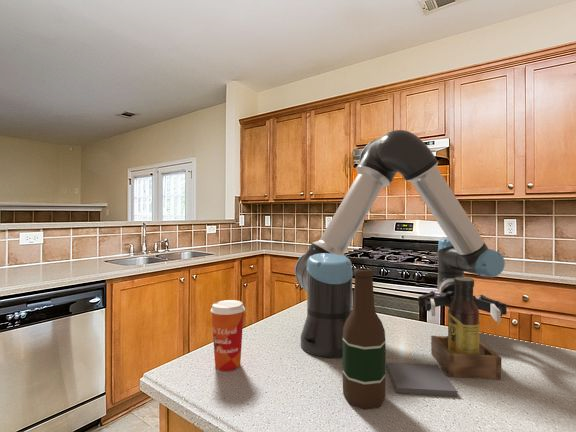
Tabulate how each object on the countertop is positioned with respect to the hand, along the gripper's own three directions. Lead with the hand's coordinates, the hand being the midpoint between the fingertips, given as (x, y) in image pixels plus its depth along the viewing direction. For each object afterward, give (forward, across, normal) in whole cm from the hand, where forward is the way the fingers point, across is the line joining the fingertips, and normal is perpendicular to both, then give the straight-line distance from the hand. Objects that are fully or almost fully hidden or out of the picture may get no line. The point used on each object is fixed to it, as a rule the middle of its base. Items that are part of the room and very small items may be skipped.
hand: (465, 313), depth 77 cm
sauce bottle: (+3, +1, -11) cm, 12 cm away
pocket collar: (+3, +1, -11) cm, 11 cm away
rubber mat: (+14, +10, -11) cm, 21 cm away
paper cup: (+22, +51, -11) cm, 56 cm away
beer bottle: (+25, +20, -11) cm, 34 cm away
